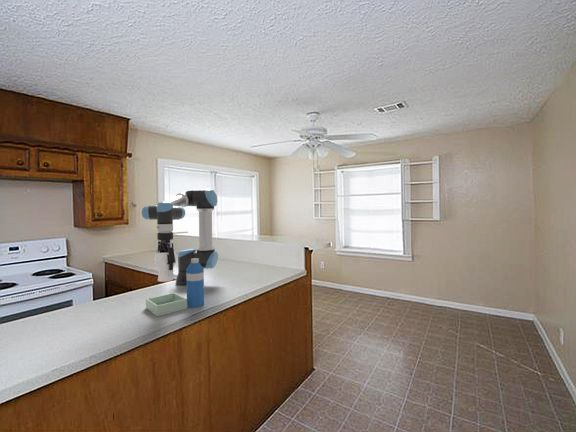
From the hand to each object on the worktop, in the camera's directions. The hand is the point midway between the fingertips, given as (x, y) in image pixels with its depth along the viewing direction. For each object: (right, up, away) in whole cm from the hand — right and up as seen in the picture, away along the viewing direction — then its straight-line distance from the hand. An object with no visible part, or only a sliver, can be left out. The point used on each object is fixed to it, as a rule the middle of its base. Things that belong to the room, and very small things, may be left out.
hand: (165, 274), depth 150 cm
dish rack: (0, -18, +1) cm, 18 cm away
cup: (0, -3, 0) cm, 3 cm away
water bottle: (+13, -18, +7) cm, 23 cm away
